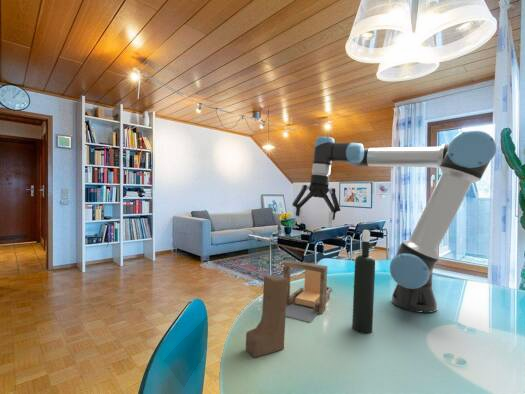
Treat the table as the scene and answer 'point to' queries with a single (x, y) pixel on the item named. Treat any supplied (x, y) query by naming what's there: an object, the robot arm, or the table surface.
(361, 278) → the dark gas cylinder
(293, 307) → the felt mat
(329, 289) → the pad
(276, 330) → the wooden block
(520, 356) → the table surface
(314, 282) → the tan l-shaped block
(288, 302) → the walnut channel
